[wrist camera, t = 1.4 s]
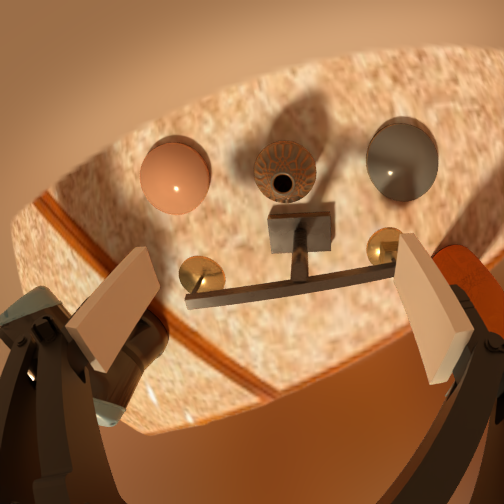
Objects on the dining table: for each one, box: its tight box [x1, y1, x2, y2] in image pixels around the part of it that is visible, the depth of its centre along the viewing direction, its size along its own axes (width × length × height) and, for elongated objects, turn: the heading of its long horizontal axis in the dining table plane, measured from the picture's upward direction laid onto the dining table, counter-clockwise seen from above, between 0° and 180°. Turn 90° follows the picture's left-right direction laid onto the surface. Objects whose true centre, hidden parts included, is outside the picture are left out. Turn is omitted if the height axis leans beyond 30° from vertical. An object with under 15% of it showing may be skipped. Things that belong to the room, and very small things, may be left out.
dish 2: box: [366, 123, 438, 201], centre depth 30 cm, size 10×10×1 cm
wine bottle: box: [432, 245, 504, 339], centre depth 23 cm, size 10×10×30 cm
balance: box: [179, 212, 403, 310], centre depth 31 cm, size 26×5×15 cm, turn 98°
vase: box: [254, 141, 316, 203], centre depth 29 cm, size 7×7×9 cm
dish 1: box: [140, 143, 210, 215], centre depth 36 cm, size 10×10×1 cm
